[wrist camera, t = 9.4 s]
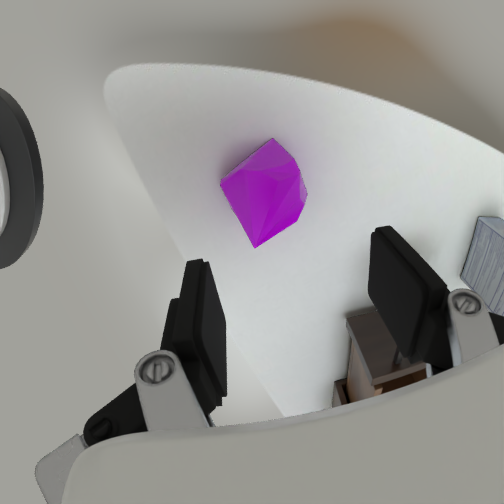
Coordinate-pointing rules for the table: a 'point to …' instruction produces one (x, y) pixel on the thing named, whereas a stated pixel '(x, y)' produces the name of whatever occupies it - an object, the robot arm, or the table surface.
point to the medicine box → (487, 263)
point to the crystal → (265, 192)
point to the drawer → (377, 360)
